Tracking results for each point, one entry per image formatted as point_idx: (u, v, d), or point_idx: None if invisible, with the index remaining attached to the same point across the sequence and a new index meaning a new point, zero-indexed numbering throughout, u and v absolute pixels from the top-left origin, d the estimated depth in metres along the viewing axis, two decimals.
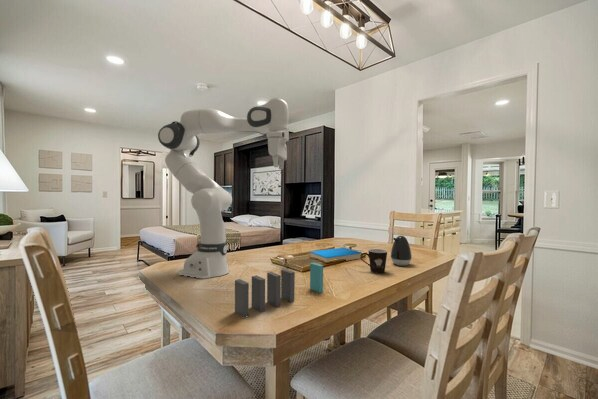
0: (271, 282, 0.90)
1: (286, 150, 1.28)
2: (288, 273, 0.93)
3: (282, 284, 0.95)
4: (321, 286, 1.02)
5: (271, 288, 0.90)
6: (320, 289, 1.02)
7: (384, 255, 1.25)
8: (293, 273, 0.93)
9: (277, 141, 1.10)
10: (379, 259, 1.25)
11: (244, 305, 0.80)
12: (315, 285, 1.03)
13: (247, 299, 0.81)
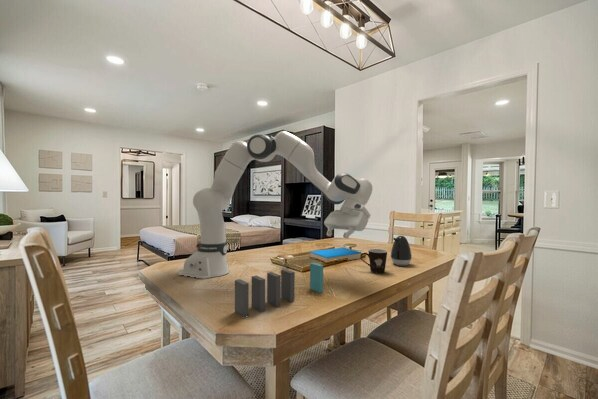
0: (271, 282, 0.90)
1: None
2: (288, 273, 0.93)
3: (282, 284, 0.95)
4: (321, 286, 1.02)
5: (271, 288, 0.90)
6: (320, 289, 1.02)
7: (384, 255, 1.25)
8: (293, 273, 0.93)
9: (367, 221, 1.08)
10: (379, 259, 1.25)
11: (244, 305, 0.80)
12: (315, 285, 1.03)
13: (247, 299, 0.81)
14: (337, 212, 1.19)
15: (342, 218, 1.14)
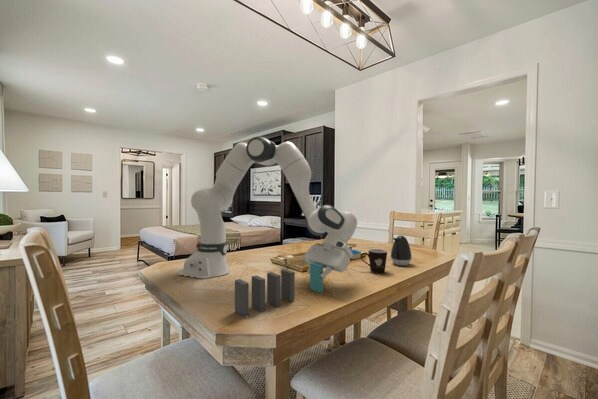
0: (271, 282, 0.90)
1: None
2: (288, 273, 0.93)
3: (282, 284, 0.95)
4: (321, 286, 1.02)
5: (271, 288, 0.90)
6: (320, 289, 1.02)
7: (384, 255, 1.25)
8: (293, 273, 0.93)
9: (349, 261, 1.01)
10: (379, 259, 1.25)
11: (244, 305, 0.80)
12: (315, 285, 1.03)
13: (247, 299, 0.81)
14: (318, 247, 1.11)
15: (323, 255, 1.06)
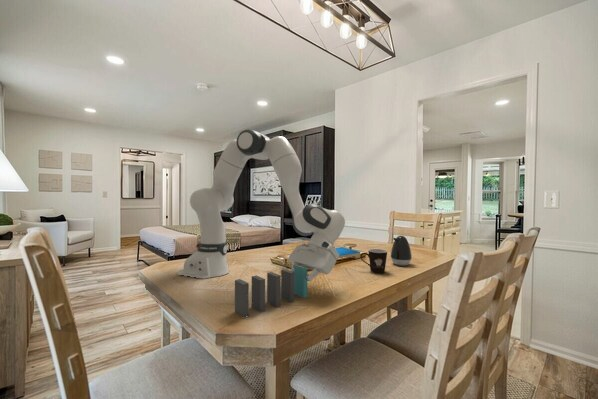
0: (271, 282, 0.90)
1: None
2: (288, 273, 0.93)
3: (282, 284, 0.95)
4: (305, 291, 0.97)
5: (271, 288, 0.90)
6: (304, 294, 0.96)
7: (384, 255, 1.25)
8: (293, 273, 0.93)
9: (334, 262, 0.96)
10: (379, 259, 1.25)
11: (244, 305, 0.80)
12: (299, 290, 0.98)
13: (247, 299, 0.81)
14: (304, 247, 1.06)
15: (308, 256, 1.01)
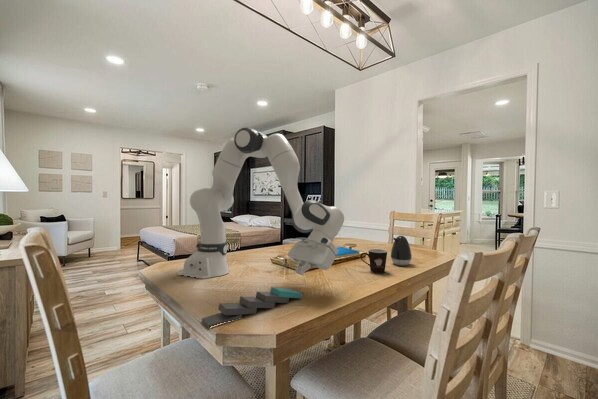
0: None
1: None
2: (263, 300, 0.86)
3: None
4: (297, 295, 0.94)
5: None
6: (299, 296, 0.95)
7: (384, 255, 1.25)
8: (266, 297, 0.86)
9: (334, 258, 0.96)
10: (379, 259, 1.25)
11: None
12: None
13: (225, 321, 0.77)
14: (303, 243, 1.06)
15: (307, 252, 1.01)
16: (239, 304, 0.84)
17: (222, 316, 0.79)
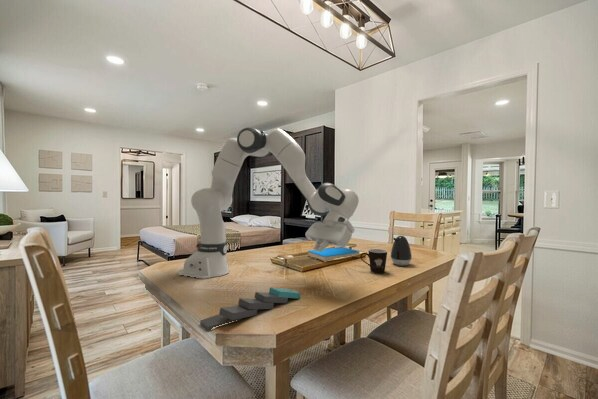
0: None
1: None
2: None
3: None
4: (296, 295, 0.94)
5: None
6: (298, 296, 0.95)
7: (384, 255, 1.25)
8: (265, 298, 0.85)
9: (350, 236, 1.01)
10: (379, 259, 1.25)
11: None
12: None
13: (225, 322, 0.76)
14: (320, 224, 1.11)
15: (324, 231, 1.06)
16: (239, 307, 0.81)
17: (221, 318, 0.78)
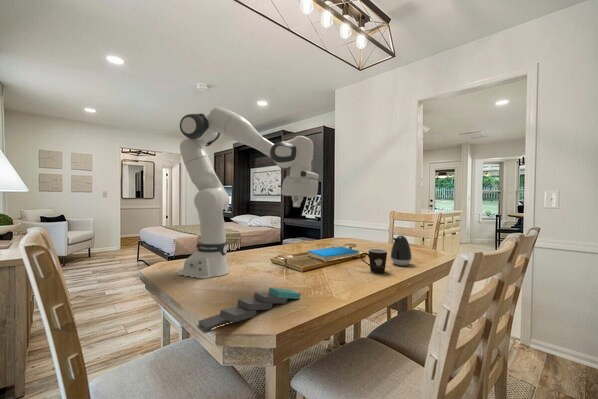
0: None
1: None
2: (261, 301, 0.86)
3: None
4: (295, 296, 0.94)
5: None
6: (297, 297, 0.95)
7: (384, 255, 1.25)
8: (264, 298, 0.85)
9: (317, 184, 1.10)
10: (379, 259, 1.25)
11: None
12: None
13: (223, 323, 0.75)
14: (289, 180, 1.18)
15: (295, 187, 1.15)
16: (238, 308, 0.80)
17: (219, 318, 0.77)
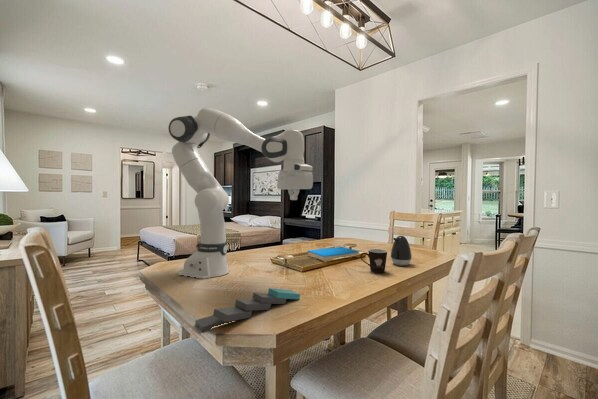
0: None
1: None
2: None
3: None
4: (295, 296, 0.93)
5: None
6: (297, 297, 0.94)
7: (384, 255, 1.25)
8: (262, 298, 0.85)
9: (312, 176, 1.11)
10: (379, 259, 1.25)
11: None
12: None
13: (219, 323, 0.75)
14: (283, 174, 1.19)
15: (290, 181, 1.16)
16: (233, 308, 0.79)
17: (216, 318, 0.77)
